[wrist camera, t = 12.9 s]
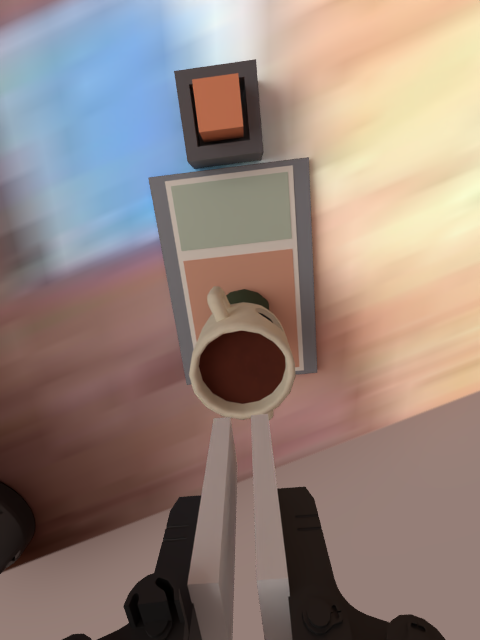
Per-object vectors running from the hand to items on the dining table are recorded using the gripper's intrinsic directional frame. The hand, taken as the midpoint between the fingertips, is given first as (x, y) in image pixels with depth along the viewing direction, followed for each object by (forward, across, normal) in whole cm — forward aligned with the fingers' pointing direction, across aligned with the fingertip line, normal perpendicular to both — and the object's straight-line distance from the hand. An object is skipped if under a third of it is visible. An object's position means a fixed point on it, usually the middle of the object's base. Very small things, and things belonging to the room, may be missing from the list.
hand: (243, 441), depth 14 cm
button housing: (+20, 0, +18) cm, 27 cm away
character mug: (+20, 0, 0) cm, 20 cm away
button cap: (+18, 0, +18) cm, 25 cm away
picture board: (+20, 0, +4) cm, 21 cm away
